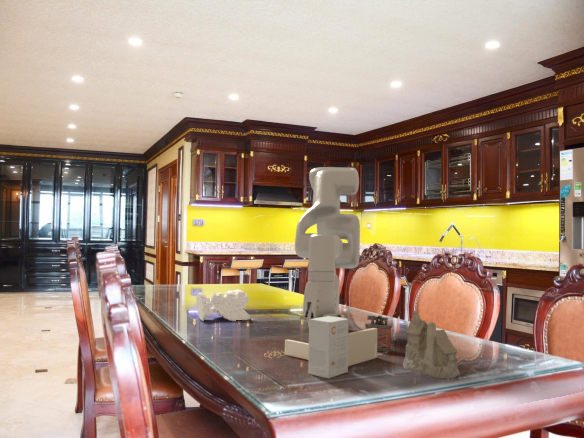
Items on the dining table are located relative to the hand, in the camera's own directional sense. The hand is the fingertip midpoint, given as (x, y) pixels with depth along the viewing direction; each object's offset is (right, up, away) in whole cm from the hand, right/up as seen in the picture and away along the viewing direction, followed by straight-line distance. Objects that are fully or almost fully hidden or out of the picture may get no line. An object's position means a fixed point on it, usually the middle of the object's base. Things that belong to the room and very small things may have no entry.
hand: (319, 342), depth 139 cm
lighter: (+18, -4, +8) cm, 20 cm away
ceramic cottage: (+29, -4, -13) cm, 32 cm away
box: (+3, -3, -3) cm, 5 cm away
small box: (+1, -2, -21) cm, 21 cm away
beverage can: (+3, -3, -4) cm, 6 cm away
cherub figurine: (-35, -5, +56) cm, 66 cm away
